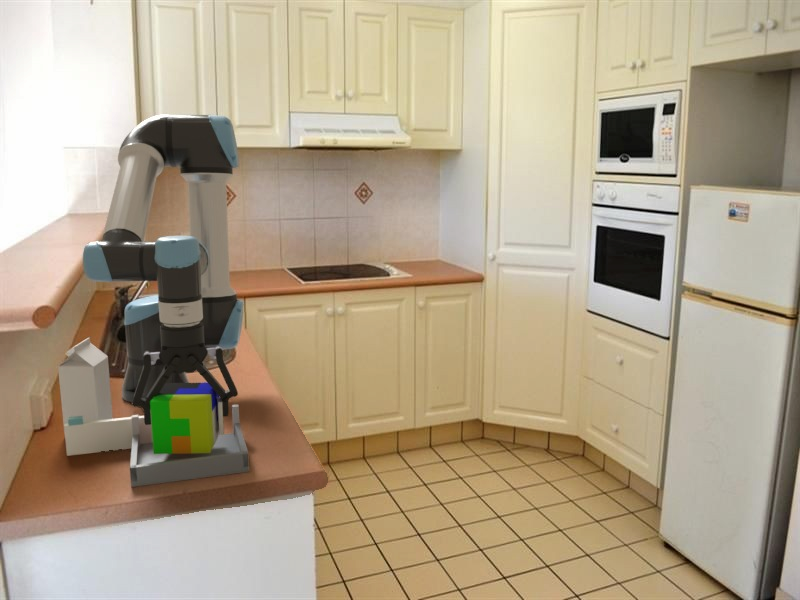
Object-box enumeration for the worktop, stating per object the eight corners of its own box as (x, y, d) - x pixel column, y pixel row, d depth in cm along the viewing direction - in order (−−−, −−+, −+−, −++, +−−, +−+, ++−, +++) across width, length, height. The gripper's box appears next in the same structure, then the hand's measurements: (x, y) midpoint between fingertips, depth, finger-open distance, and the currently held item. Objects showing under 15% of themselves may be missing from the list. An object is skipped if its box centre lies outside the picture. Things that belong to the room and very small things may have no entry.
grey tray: (134, 449, 137) (131, 415, 136) (239, 437, 143) (238, 404, 142) (131, 487, 122) (128, 449, 120) (249, 471, 128) (247, 435, 127)
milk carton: (113, 424, 150) (106, 337, 146) (99, 438, 143) (91, 347, 139) (80, 424, 150) (72, 337, 146) (64, 437, 143) (55, 346, 139)
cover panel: (67, 453, 135) (64, 417, 134) (166, 441, 141) (164, 407, 139) (66, 456, 134) (63, 420, 133) (166, 444, 140) (164, 409, 138)
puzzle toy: (221, 431, 138) (218, 382, 136) (209, 453, 128) (207, 400, 126) (168, 432, 137) (165, 382, 135) (153, 453, 127) (150, 401, 125)
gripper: (110, 332, 121) (119, 452, 125) (250, 322, 128) (254, 436, 133) (112, 322, 128) (121, 436, 132) (245, 313, 135) (250, 421, 139)
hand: (188, 436), depth 132 cm, fingers closed on puzzle toy, 11 cm apart
